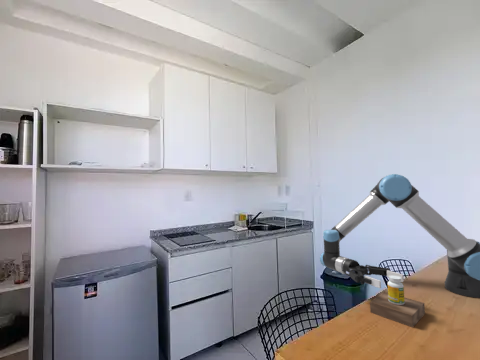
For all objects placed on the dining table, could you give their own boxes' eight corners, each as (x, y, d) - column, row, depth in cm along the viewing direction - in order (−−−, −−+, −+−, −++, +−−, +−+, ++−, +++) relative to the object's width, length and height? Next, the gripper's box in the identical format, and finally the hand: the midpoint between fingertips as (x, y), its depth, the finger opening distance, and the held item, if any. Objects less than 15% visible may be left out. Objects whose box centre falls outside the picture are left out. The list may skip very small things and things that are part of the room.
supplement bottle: (392, 297, 96) (390, 273, 97) (407, 302, 92) (405, 277, 93) (385, 301, 93) (384, 276, 94) (401, 306, 89) (399, 280, 90)
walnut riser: (384, 301, 102) (384, 291, 102) (425, 313, 91) (424, 302, 92) (370, 312, 94) (369, 301, 94) (412, 327, 83) (412, 315, 83)
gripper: (366, 270, 118) (412, 285, 99) (328, 279, 108) (370, 297, 89) (365, 255, 119) (411, 266, 99) (327, 262, 108) (369, 277, 89)
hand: (392, 281), depth 94 cm, fingers open, 13 cm apart
